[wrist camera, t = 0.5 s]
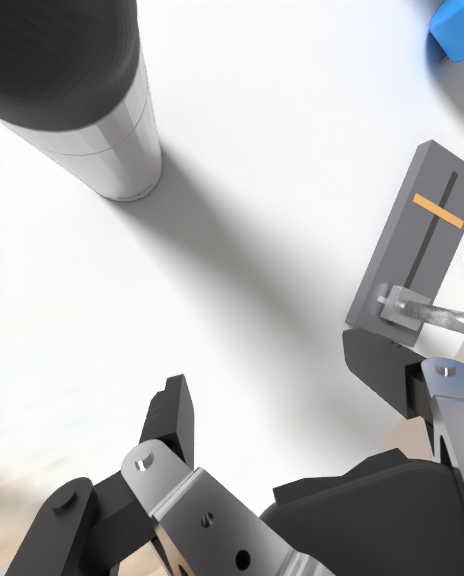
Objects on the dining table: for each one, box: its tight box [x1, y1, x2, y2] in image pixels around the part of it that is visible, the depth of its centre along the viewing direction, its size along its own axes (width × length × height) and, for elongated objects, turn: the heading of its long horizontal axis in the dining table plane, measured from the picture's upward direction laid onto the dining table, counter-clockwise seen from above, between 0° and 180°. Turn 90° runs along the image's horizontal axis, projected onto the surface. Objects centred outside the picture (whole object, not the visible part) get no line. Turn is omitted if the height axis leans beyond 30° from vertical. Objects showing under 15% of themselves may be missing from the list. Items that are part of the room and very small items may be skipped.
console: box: [345, 140, 464, 347], centre depth 37 cm, size 28×12×2 cm, turn 159°
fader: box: [380, 285, 464, 334], centre depth 30 cm, size 5×6×13 cm
